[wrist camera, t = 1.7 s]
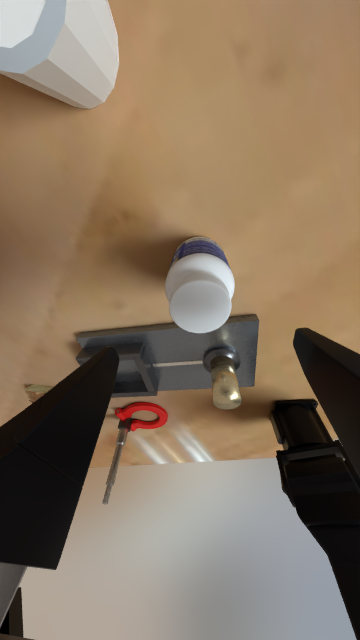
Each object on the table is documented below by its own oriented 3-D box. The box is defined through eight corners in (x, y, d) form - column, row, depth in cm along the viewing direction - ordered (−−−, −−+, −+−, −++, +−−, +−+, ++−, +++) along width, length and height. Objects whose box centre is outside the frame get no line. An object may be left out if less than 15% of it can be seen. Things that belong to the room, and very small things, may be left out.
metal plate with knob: (256, 314, 22) (278, 359, 16) (252, 379, 29) (266, 428, 23) (80, 332, 26) (46, 375, 20) (113, 386, 32) (94, 431, 26)
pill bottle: (171, 236, 18) (154, 268, 11) (227, 234, 17) (249, 267, 10) (174, 287, 21) (162, 340, 14) (222, 287, 20) (236, 341, 13)
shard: (80, 416, 40) (76, 425, 39) (45, 412, 40) (40, 421, 39) (66, 385, 34) (61, 394, 32) (25, 380, 34) (17, 389, 32)
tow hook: (157, 396, 34) (113, 405, 36) (144, 490, 23) (82, 495, 25) (173, 419, 38) (133, 426, 40) (169, 507, 28) (115, 511, 29)
